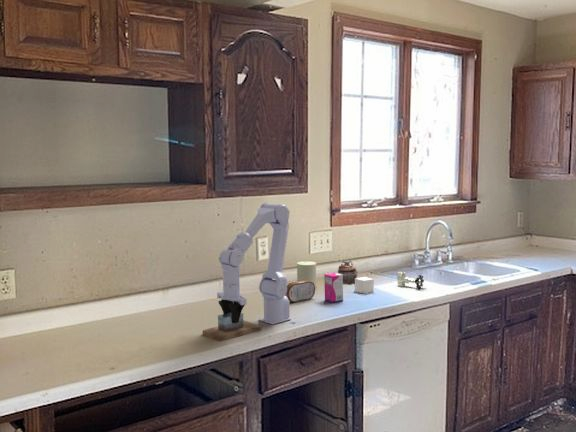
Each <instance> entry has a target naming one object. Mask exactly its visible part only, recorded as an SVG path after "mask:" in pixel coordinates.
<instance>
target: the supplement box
mask: <svg viewBox="0 0 576 432" xmlns="http://www.w3.org/2000/svg"><path fill="white" fill-rule="evenodd" d="M323 277H324V278H323V279H324V301H326V302H329V303H332V304H334V303H339V302H344V287H343V286H344V283H343V275H342V274H338V272H337V273H336V272H331V273H324V276H323Z"/></svg>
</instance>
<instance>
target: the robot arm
mask: <svg viewBox="0 0 576 432" xmlns="http://www.w3.org/2000/svg"><path fill="white" fill-rule="evenodd" d="M289 219H290V210H289V208H288V207H287V205H286V204H284V203H270V202H264V203H262V204H261V205H260V207H259V208H258V209H257V214H256V215H255V217H254V218H253V219H252V221H251V223H250V224H249V225H248V227H246V230H245V232H239V233H237V234H236V235H235V236H236V237H235V238H234V240H233V241H232V242H231V244H229V245H228V246H227V248H225V249H223V250H221V253H220V254H219V257H218V261H219V263H220V264H221V269H222V290H223V291H218V292H216V296H217V298H218V299H220V300H218V305H219V307H221V310H222V313H223V314H226V313H232V321H233V323H238V322H239V318H240V314H241V313H242V311H243V309H244V307H245V306H246V305H247V298H246V297H243V295H241V294H240V292H241V291H240V265H241V264H242V263H243V260H244V257H245V253H246V252H247V251H248V250H249V248H250V247H251V246H252V245H253V242H254V239H253V238H254V237H255V236H256V235H257V234H258V233H259V232H260V231H261V230H262V228H263V227H264V226H265V225H267V224H269V225H270V226H271V227H272V229H273V233H272V237H271V238H272V239H271V245H270V246H271V247H270V253H269V260H268V266H267V270H266V271H265V272H264V273H263V274H262V278H261V280H260V281H259V285H258V290H259V292H260V293H261V294H262V297H263V317H261V318H259V319H258V320H259V321H261V322H263V323H268V324H271V325H274V324H279V323H282V322H287V321H290V320H292V318H291V317H290V301H289V300H288V298H287V297H286V296H285V295H286V293H287V285H288V284H287V283H288V282H287V281H288V278H287V277H286V275H285V274H284V273H283V269H284V262H285V255H286V247H287V243H288V241H287V240H288V233H289V227H290V224H289Z"/></svg>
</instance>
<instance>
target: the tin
mask: <svg viewBox="0 0 576 432" xmlns="http://www.w3.org/2000/svg"><path fill="white" fill-rule="evenodd" d="M315 293H316V288H315V285H314V283H313V282H311V281H309V280H303V281H297V280H295V281H291V282H289V283H288V284H287V293H286V295H285V296H286V297H287V298H288V300H289V302H292V303H298V302H303V301H308V300H311V299H312V298H313V297H314V296H315Z"/></svg>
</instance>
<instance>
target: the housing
mask: <svg viewBox="0 0 576 432" xmlns="http://www.w3.org/2000/svg"><path fill="white" fill-rule="evenodd" d="M243 320H244V313H243V312H241V314H240V318H239V322H238V323H233V321H232V313H226V314H217V322H218V323H217V325H218V326H217V327H218V330H221V331H224V332H227V331H231V330H235V329H239V328H243V327H244V325H243Z"/></svg>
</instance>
